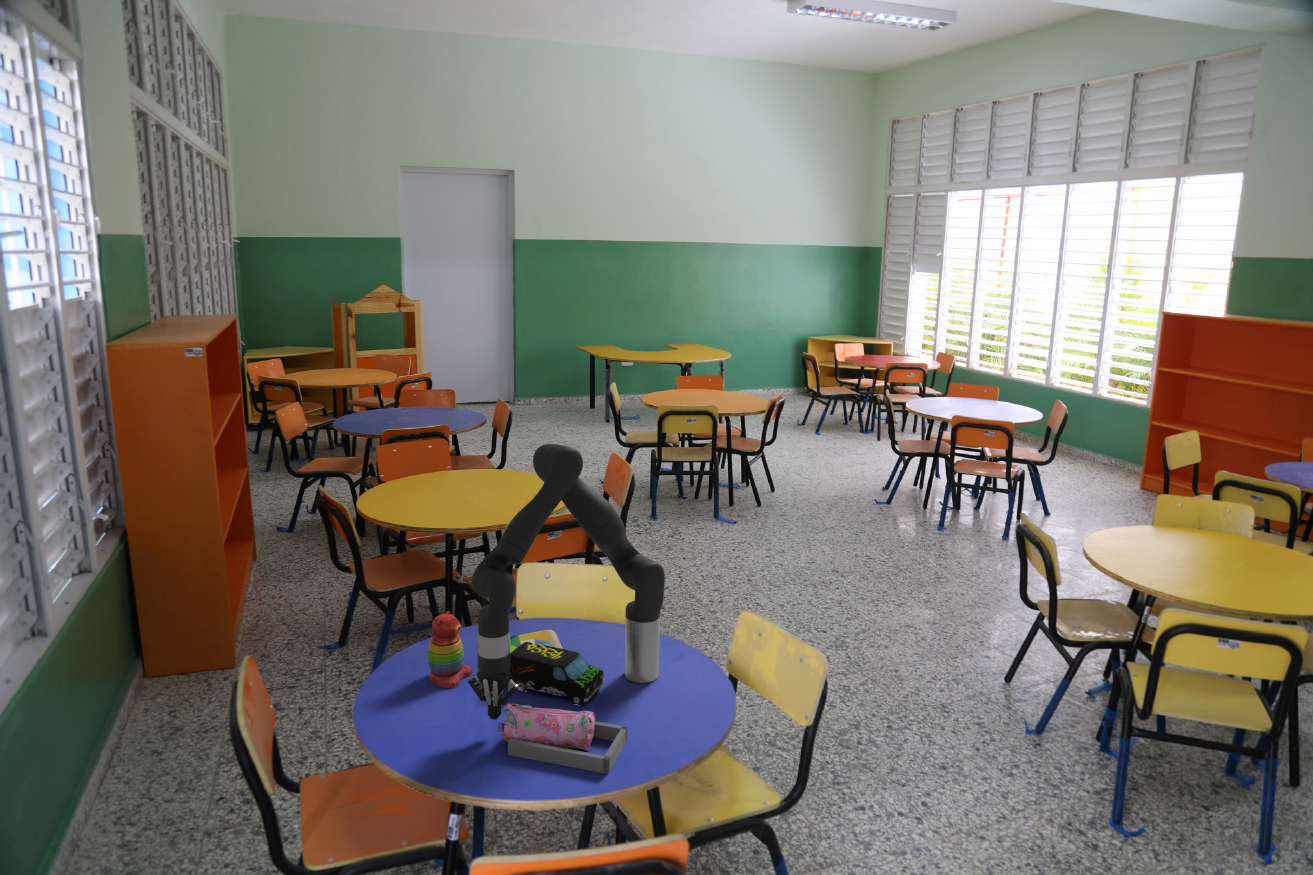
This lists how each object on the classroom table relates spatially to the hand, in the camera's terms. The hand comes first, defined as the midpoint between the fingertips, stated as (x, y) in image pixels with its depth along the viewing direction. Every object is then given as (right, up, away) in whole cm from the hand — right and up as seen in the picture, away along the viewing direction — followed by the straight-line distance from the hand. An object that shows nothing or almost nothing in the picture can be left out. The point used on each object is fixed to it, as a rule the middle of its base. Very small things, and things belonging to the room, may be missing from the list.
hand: (494, 717), depth 200 cm
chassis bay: (+18, -5, -4) cm, 19 cm away
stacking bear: (-18, +2, +27) cm, 32 cm away
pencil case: (+13, -5, -3) cm, 14 cm away
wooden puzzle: (+2, +4, +43) cm, 43 cm away
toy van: (+11, 0, +22) cm, 25 cm away
